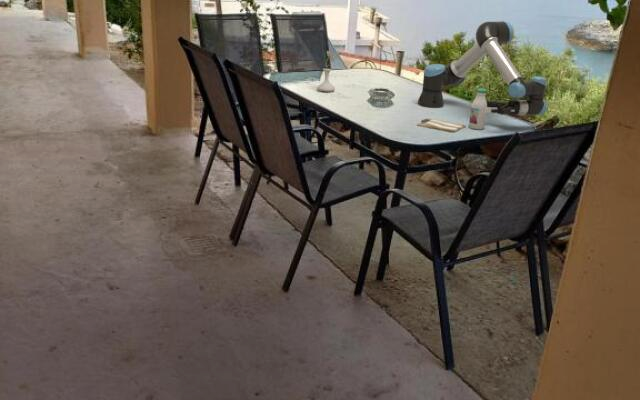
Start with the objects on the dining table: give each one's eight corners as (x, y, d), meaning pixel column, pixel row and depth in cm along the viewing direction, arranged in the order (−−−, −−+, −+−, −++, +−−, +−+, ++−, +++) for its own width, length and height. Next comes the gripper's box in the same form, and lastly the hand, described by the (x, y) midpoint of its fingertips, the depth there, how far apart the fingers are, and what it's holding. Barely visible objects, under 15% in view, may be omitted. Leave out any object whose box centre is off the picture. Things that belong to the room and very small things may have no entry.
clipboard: (429, 120, 315) (430, 116, 314) (465, 126, 305) (466, 123, 304) (416, 125, 303) (417, 122, 302) (453, 132, 292) (454, 129, 292)
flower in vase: (335, 93, 370) (337, 52, 361) (316, 92, 370) (318, 51, 361) (334, 89, 382) (337, 50, 373) (317, 88, 382) (319, 49, 373)
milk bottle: (481, 126, 308) (487, 88, 300) (485, 130, 300) (491, 91, 293) (466, 125, 307) (472, 87, 300) (470, 129, 300) (476, 90, 293)
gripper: (528, 120, 294) (488, 120, 289) (504, 109, 316) (467, 109, 312) (530, 105, 291) (490, 105, 287) (506, 95, 314) (469, 94, 309)
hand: (478, 107), depth 299 cm, fingers open, 13 cm apart
